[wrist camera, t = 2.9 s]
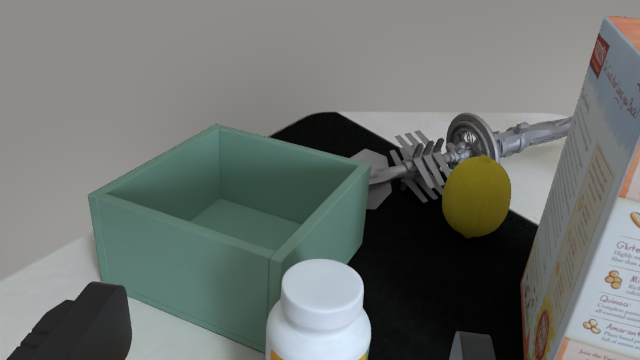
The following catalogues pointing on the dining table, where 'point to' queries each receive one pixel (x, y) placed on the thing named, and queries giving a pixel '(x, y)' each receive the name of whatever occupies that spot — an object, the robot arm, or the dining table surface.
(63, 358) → the robot arm
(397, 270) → the dining table surface
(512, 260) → the dining table surface
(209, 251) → the open storage box
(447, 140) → the spaceship
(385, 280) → the dining table surface
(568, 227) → the cracker box
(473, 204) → the lemon
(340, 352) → the supplement bottle
